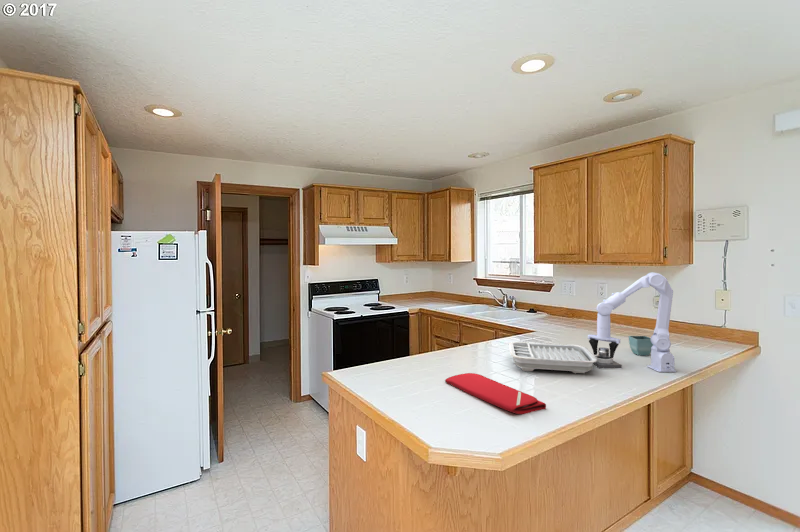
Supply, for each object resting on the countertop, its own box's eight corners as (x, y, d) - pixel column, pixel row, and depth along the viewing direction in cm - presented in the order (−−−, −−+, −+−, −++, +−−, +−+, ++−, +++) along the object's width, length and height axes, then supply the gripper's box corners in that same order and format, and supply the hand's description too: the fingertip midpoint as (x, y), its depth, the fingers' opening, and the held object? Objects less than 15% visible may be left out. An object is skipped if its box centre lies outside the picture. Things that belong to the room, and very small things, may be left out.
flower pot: (654, 356, 211) (654, 339, 211) (636, 356, 211) (637, 339, 211) (644, 352, 220) (644, 335, 219) (627, 352, 220) (627, 335, 220)
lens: (611, 362, 196) (611, 349, 196) (602, 362, 195) (602, 349, 195) (604, 359, 200) (604, 347, 200) (596, 360, 200) (596, 347, 199)
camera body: (621, 368, 191) (621, 360, 190) (599, 368, 191) (599, 360, 191) (606, 360, 205) (606, 353, 204) (586, 360, 205) (586, 353, 205)
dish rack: (600, 378, 177) (600, 360, 177) (511, 374, 185) (511, 356, 185) (584, 359, 208) (584, 343, 207) (508, 356, 216) (508, 341, 215)
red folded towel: (475, 378, 180) (475, 369, 180) (547, 409, 144) (547, 399, 144) (444, 383, 173) (444, 374, 173) (512, 418, 137) (512, 407, 137)
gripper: (623, 328, 194) (623, 357, 194) (592, 324, 205) (592, 351, 206) (616, 330, 189) (616, 360, 190) (585, 326, 201) (585, 354, 201)
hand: (603, 356), depth 198 cm, fingers open, 7 cm apart
